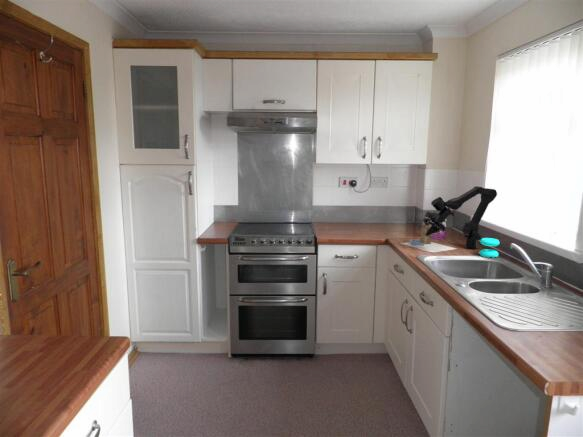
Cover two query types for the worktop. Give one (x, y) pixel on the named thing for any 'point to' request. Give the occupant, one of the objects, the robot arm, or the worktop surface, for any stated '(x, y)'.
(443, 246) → the white rectangular sheet
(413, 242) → the socket
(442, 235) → the candy bar box
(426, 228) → the walnut column
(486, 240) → the pair of cyan ovals
